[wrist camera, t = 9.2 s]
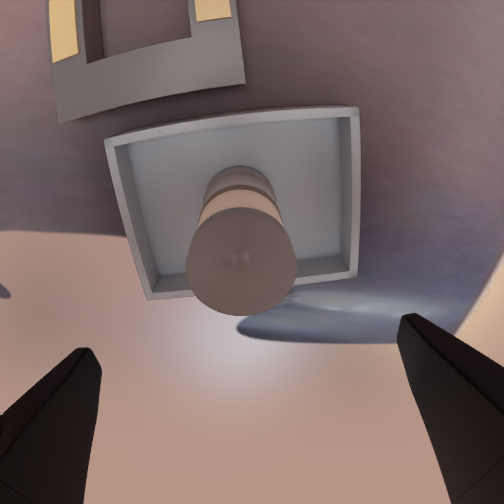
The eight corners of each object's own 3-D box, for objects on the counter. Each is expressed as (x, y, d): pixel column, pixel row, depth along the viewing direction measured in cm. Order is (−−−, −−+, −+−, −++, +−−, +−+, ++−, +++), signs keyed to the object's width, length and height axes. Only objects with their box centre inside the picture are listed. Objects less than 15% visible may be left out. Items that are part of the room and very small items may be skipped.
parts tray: (343, 104, 17) (358, 107, 14) (345, 257, 21) (356, 277, 19) (119, 132, 17) (103, 139, 15) (155, 278, 22) (147, 300, 19)
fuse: (271, 161, 18) (294, 213, 11) (277, 226, 20) (298, 309, 12) (200, 170, 18) (174, 228, 11) (210, 234, 20) (197, 320, 13)
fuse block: (224, -75, 11) (222, -96, 8) (244, 84, 16) (245, 83, 14) (65, -33, 11) (45, -43, 9) (79, 118, 16) (57, 124, 14)
